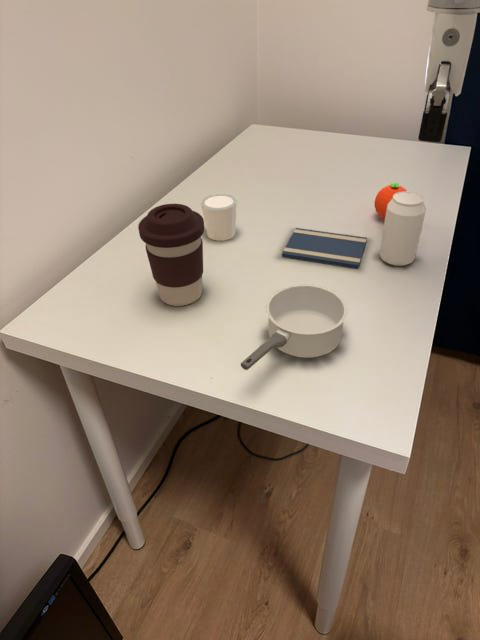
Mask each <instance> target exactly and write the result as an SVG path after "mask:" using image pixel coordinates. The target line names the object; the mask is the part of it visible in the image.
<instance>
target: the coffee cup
mask: <svg viewBox="0 0 480 640" xmlns="http://www.w3.org/2000/svg"><path fill="white" fill-rule="evenodd" d="M137 226H138V227H137V229H138V233H139V238H140V240H141V241H142V242H143V243H145V252H146V255H147V256H146V257H147V259H148V263H149V267H150V270H151V275H152V278H153V280H154V282H155V284H156V288H157V292H158V296H159V298H160V300H161V301H162V302H163V303H165V304H167V305H170V306H174V307H182V306H188V305H190V304H193V303H195V302H196V301H198V300H199V299H200V298H201V296H202V295H203V274H204V244H203V243H204V242H203V239H202V237H203V235H204V233H205V230H206V226H205V220H204V216H202V215H201V214H200V213H199V212H197V211H195V210H192V208H191V207H190V206H188V205H186V204H182V203H164V204H161V205H158V206H156V207H153V208H152V209H150V211H148V213H147V214H146V216H144V217H142V219H141V220H140V221H139V223H138V225H137Z"/></svg>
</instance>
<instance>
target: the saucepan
mask: <svg viewBox="0 0 480 640" xmlns="http://www.w3.org/2000/svg"><path fill="white" fill-rule="evenodd" d="M265 313H266V316H267V317H268V337H269V338H268V339H267V340H265V341H264V342H263V343H262V344H261V345H260V346H259V347H258V348H256V349H255V350H254V351H253V352H252V353H251V354H250V355H248V356H247V357H246V358H245V359H244V360H242V362H240V366H241V368H242V369H243V370H245V371H249V369H251V368H252V367H253V366H254V365H256V363H257V362H258V361H260V360H261V359H262V358H263V357H265V356H266V355H267V354H268V353H269V352H271V350H273V349H278V350H279V351H280V352H283V353H284V354H287V355H290V356H292V357H293V356H294V357H297V358H305V359H307V358H316V357H321V356H324V355H327V354H329V353H330V352H331V353H332V351H334V350H335V349H336V348H337V347H338V346H339V344H340V343H341V341H342V336H343V327H344V321H345V320H346V319H347V316H348V306H347V303H346V302H345V300H344V298H342V296H341V295H340V294H338V293H337V292H335V291H333V290H332V289H329V288H328V287H324V286H321V285H315V284H307V283H304V284H302V283H301V284H293V285H288V286H285V287H282V288H280V289H277V291H275V292H273V294H271V295H270V296H269V298H268V299H267V301H266V304H265Z"/></svg>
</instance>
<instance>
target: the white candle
mask: <svg viewBox="0 0 480 640" xmlns="http://www.w3.org/2000/svg"><path fill="white" fill-rule="evenodd" d="M200 204H201V210H202V215H203V219H204V226H205V230H206V235H207V237H208V238H209V239H211V241H212V240H213V241H219V242H223V241H228V240H230V239H233V238H234V237H235V235H236V229H237V228H236V226H237V208H238V207H237V206H238V200H237V199H236V197H235V196H232V195H230V194H225V193H224V194H223V193H218V194H212V195H209V196H206V197H204V198H203V199H202V200H201V202H200Z"/></svg>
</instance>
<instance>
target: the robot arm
mask: <svg viewBox="0 0 480 640" xmlns="http://www.w3.org/2000/svg"><path fill="white" fill-rule="evenodd" d="M426 11H427V12H430V13H434V19H433V24H432V30H431V36H430V42H429V48H428V54H427V61H426V70H425V78H424V93H425V94H426V98H425V99H426V100H425V104H424V110H423V111H422V112H423V113H422V117H421V122H420V127H419V132H418V136H417V137H418V138H417V139H418V141H419V142H430V143H431V142H432V143H440V142H441V141H442V139H443V135H444V130H445V125H446V121H447V117H448V112H447V110H448V104H449V99H450V96H451V94H454V96H455V97H458V96H459V95H460V94H462V88H463V84H464V79H465V76H466V71H467V67H468V63H469V62H468V61H469V58H470V55H471V54H470V53H471V48H472V44H473V40H474V35H475V30H476V24H477V18H478V13H480V0H427V6H426Z"/></svg>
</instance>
